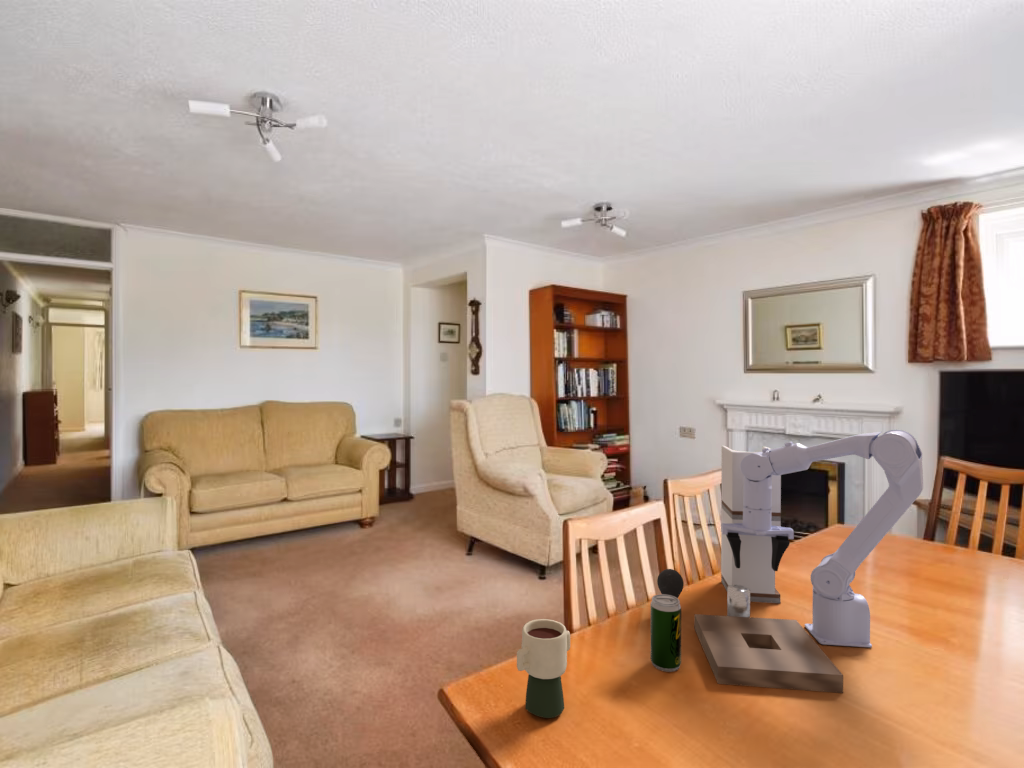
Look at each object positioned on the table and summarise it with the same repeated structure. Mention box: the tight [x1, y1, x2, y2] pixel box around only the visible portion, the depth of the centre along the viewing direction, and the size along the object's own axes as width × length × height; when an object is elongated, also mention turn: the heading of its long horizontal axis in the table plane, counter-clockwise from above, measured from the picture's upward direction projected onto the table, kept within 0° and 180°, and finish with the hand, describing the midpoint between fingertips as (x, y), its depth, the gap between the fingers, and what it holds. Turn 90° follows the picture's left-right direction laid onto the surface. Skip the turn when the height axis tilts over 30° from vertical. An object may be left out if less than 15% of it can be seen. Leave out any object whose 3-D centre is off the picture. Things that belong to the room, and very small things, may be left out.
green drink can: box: [650, 593, 682, 673], centre depth 97 cm, size 5×5×12 cm
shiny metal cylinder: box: [726, 585, 751, 617], centre depth 114 cm, size 4×4×7 cm
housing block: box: [693, 613, 844, 694], centre depth 99 cm, size 20×20×3 cm
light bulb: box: [656, 568, 685, 599], centre depth 117 cm, size 6×6×10 cm
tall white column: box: [720, 445, 782, 604], centre depth 129 cm, size 11×11×35 cm
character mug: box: [516, 618, 571, 719], centre depth 84 cm, size 11×7×13 cm, turn 127°
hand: (755, 568), depth 117 cm, fingers open, 7 cm apart
